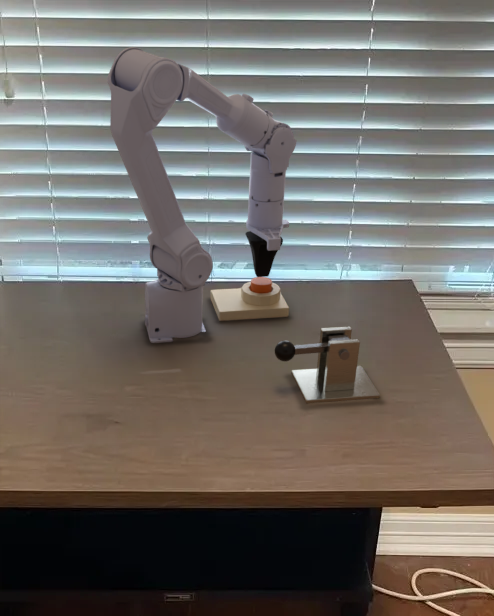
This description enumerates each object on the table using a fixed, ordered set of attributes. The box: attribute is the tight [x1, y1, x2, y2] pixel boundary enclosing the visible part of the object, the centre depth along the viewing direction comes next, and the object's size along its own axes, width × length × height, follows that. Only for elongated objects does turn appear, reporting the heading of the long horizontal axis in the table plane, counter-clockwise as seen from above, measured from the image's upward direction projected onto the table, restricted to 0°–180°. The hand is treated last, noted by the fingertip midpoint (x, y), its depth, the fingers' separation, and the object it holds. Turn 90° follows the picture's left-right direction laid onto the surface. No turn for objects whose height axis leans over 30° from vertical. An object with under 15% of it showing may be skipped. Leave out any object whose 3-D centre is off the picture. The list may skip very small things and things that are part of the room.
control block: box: [209, 281, 290, 322], centre depth 159 cm, size 12×9×4 cm
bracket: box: [290, 326, 381, 404], centre depth 135 cm, size 11×9×9 cm
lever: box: [274, 335, 350, 362], centre depth 133 cm, size 11×3×3 cm, turn 98°
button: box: [250, 276, 273, 293], centre depth 158 cm, size 4×4×2 cm
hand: (261, 275), depth 157 cm, fingers closed
